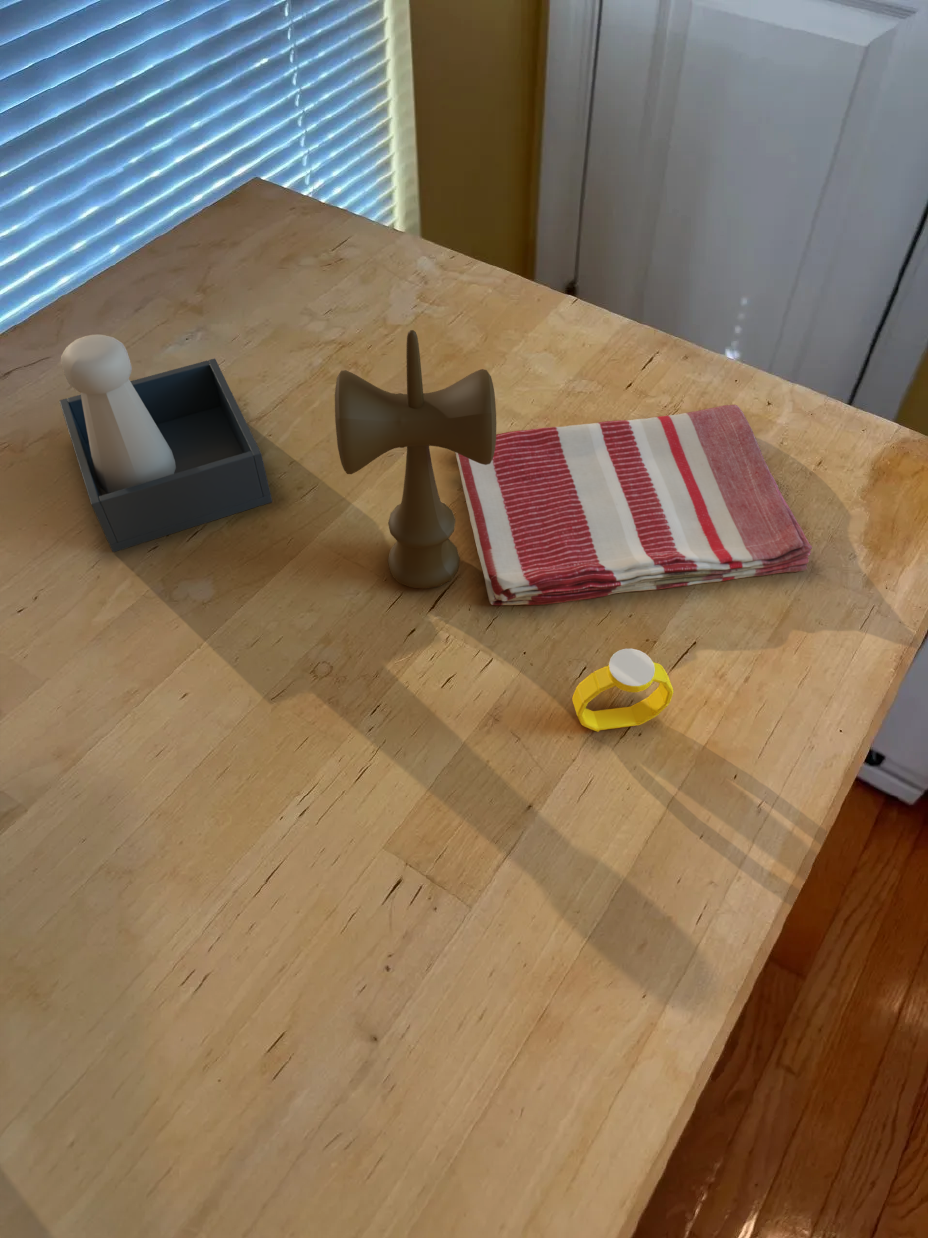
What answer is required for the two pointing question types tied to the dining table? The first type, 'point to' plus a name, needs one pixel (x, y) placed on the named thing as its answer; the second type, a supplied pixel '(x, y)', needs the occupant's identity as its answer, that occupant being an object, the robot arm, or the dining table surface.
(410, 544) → the kendama
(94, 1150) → the dining table surface
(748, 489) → the dish towel
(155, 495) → the bin
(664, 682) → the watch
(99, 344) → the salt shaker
